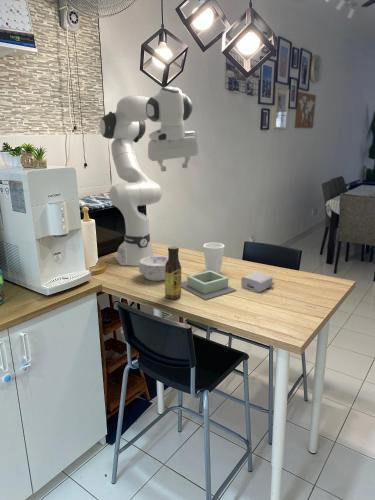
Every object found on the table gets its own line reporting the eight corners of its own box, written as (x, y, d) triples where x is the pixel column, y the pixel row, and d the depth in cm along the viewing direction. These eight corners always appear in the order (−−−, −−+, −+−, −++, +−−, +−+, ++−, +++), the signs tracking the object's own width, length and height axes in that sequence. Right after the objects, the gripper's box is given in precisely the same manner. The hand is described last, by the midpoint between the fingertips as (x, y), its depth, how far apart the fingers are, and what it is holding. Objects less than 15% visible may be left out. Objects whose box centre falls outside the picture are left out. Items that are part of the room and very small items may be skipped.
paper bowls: (168, 270, 179) (168, 253, 177) (178, 281, 165) (178, 263, 163) (136, 273, 175) (135, 256, 172) (143, 285, 161) (143, 267, 158)
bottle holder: (187, 285, 160) (187, 276, 159) (210, 279, 167) (210, 270, 166) (204, 294, 151) (204, 284, 150) (228, 287, 158) (228, 277, 157)
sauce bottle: (175, 301, 145) (175, 250, 140) (161, 298, 148) (161, 248, 143) (184, 295, 151) (184, 246, 145) (170, 292, 154) (170, 244, 148)
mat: (175, 284, 162) (175, 283, 162) (205, 276, 171) (205, 275, 171) (205, 300, 146) (205, 299, 146) (236, 290, 155) (236, 289, 155)
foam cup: (198, 272, 177) (199, 244, 173) (214, 268, 182) (214, 241, 178) (212, 277, 169) (213, 249, 166) (227, 273, 175) (228, 246, 171)
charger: (279, 283, 164) (259, 293, 153) (261, 278, 170) (241, 287, 159) (280, 273, 162) (260, 282, 152) (262, 267, 168) (241, 276, 158)
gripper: (192, 129, 153) (193, 164, 158) (145, 134, 144) (147, 171, 150) (200, 131, 148) (201, 167, 153) (151, 136, 139) (154, 174, 145)
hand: (174, 169), depth 152 cm, fingers open, 8 cm apart
